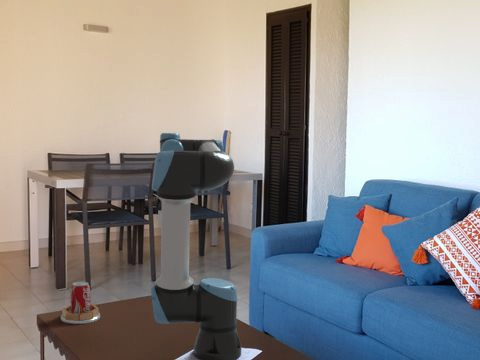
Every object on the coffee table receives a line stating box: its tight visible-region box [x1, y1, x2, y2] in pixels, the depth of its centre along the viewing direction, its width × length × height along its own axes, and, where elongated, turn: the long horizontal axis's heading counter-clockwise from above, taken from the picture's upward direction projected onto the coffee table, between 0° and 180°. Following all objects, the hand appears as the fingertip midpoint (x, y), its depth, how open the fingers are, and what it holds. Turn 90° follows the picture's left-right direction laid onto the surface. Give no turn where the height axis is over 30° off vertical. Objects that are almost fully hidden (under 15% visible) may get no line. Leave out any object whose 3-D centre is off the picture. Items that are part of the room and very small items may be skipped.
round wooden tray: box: [60, 303, 101, 325], centre depth 221 cm, size 14×14×4 cm
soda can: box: [70, 280, 91, 313], centre depth 220 cm, size 7×7×12 cm
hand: (169, 230), depth 227 cm, fingers open, 13 cm apart
